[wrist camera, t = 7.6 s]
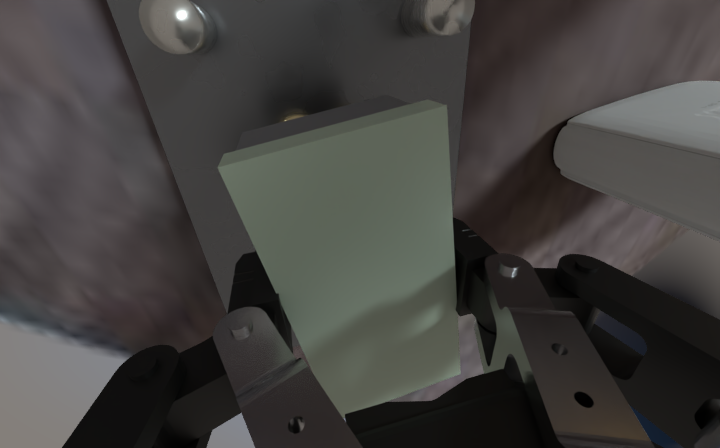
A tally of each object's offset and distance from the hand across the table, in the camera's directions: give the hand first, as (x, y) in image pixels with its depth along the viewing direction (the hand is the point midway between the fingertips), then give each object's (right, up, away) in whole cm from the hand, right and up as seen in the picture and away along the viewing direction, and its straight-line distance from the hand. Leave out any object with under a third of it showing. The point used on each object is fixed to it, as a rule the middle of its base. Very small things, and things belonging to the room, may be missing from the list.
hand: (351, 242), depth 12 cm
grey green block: (0, 0, +1) cm, 1 cm away
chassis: (-1, +3, +5) cm, 6 cm away
